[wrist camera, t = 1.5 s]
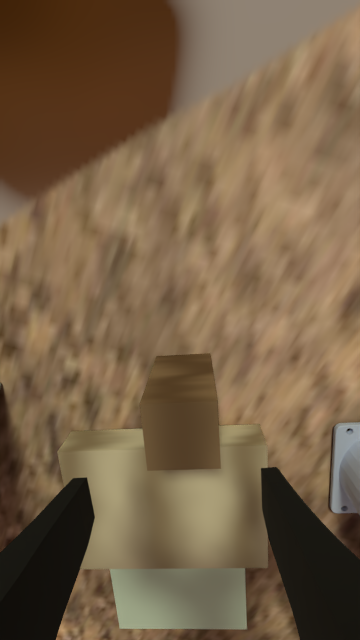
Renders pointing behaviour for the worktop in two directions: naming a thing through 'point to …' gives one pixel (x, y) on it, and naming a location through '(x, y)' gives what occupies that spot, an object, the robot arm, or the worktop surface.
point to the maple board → (170, 503)
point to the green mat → (180, 598)
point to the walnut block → (181, 414)
